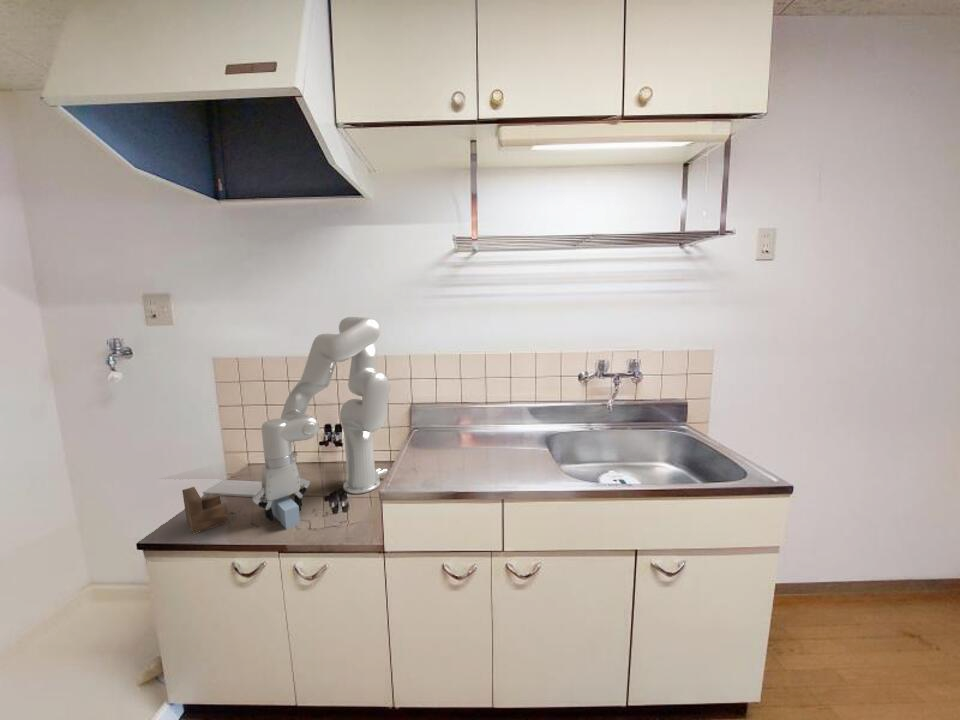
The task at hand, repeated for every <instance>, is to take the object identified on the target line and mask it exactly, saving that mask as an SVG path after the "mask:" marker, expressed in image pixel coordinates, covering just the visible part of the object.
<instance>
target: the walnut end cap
mask: <svg viewBox="0 0 960 720" xmlns="http://www.w3.org/2000/svg"><path fill="white" fill-rule="evenodd" d="M182 497H183V503H184V510H185V517H186V522H187V524H188V526H189V528H190V531H191V530H192V531H191V532H193V533H196V532H199V531H202V530H204V531H206V530H205V529H207V530H209V529H208V528H210V529H212V528H211V527H213V528H215V527H214V526H216V525H219V524H221V525H223V524H222V523H224V524H227V523H229V522H230V520H229V514H228V513H229V512H228V505H227V504H226V502H223V503H222V500H221V495H219V493H218V494H215V495H207V496H205V497H203V498H202V497H201V496H200V494H199V492H198V490H197V489H196V487H195V486H191V487H188V488H185V489H182ZM226 522H227V523H226ZM219 526H220V525H219ZM216 527H217V526H216ZM202 532H203V531H202ZM193 533H192V534H193ZM199 533H200V532H199ZM196 534H197V533H196Z"/></svg>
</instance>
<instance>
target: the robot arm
mask: <svg viewBox="0 0 960 720" xmlns="http://www.w3.org/2000/svg"><path fill="white" fill-rule="evenodd" d="M338 331H339V333H337V334H336V333H321V334H319V335H317V336H316V337H315V338H314V340H313V342H312V344H311V347H310V350H309V353H308V357H307V360H306V363H305V366H304V369H303V372H302V375H301V378H300V379H299V381H298V382H297V383H296V384H295V386H294V387H293V389H292V390H291V391H290V393H289V395H288V396H287V399H286V400H285V402H284V405H283V409H282V411H281V415H280V418H272V419H268V420H266V421H265V422H262V424H261V427H260V428H261V437H262V445H263V446H262V447H263V456H264V457H263V458H264V464H265V465H264V466H262V468H261V480H260V482H261V485H262V489H261V490H260V491H259V492H258V493H257V494H256V495H255V496H254V497H251V500H252V502H253V503H254V504H256V505H257V506H258V507H260V508H262V509H264V516H265V518H266V520H269V522H273V521H274V515H273V513H272V508H271V507H270V506H271V504H272V502H273V500H276V499H279V498H282V497H285V496H288V495H290V496H292V495H294V494H295V495H294V497H293V498H294V500H293V501H294V502H295V503H296V504H297V505H298V506H299V512H300V511H302V506H303V502H302V501H303V499H302V498H303V497H304V495H305V493H306V491H307V489H308V487H309V486H310V484H311V482H310V480H308V479H307V478H306V479H305V478H302V477H300V473H299V469H298V465H297V462H296V460H295V457H297V456H298V451H293V446H292V443H293V442H300V441H308V440H311V439H312V438H314V437H316V435H317V434H318V433H319V431H320V424H319V421H318V420H317V419H316V418H315V417H313V416H311V415H309V414H307V409H308V406H309V405H310V402H311V400H312V399H313V398H314V397H315V395H316V394H318V393H319V392H321V391H323V390H325V389H326V388H328V387H329V385H330V384H331V381H332V377H333V373H334V371H335V367H336V364H337V363H341V362H345V361H348V360H351V361H350V368H349V375H348V381H347V382H348V384H347V385H348V390H349V392H350V393H352V394H353V395H355V396H357V397H362V399H360V398H351V399H349V400H347V401H345V402H344V403H343V404H342V405H341V408H340V411H339V418H340V422H341V423H340V424H341V427H342V430H343V437H344V438H343V439H344V448H345V449H344V450H345V461H346V464H345V465H346V476H347V480H346V481H344V482H343V490H344V491H345V492H347V493H348V494H355V495H356V494H357V495H358V494H364V493H369V492H371V491H374V490H375V489H377V488H378V487H379V486H380V485H381V479H380V477H381V476H383V475H386V474H387V475H388V469H387V468H386V467H385V468H383V469H381V468H380V467H379V468H375V466H376V465H375V451H374V435H373V433H375V432H378V431H379V430H380V429H381V428H382V427H383V425H384V423H385V421H386V416H387V413H388V412H387V411H388V405H389V404H388V403H389V398H390V382H389V379H388V377H387V376H386V375H385V374H384V373H383V372H380V371H378V370H377V362H378V361H377V360H378V350H377V347H376V344H375V343H376V341H377V340H378V339H379V337H380V334H381V328H380V325H379V323H378V321H376V320H375V319H374V318H370V317H359V316H348V317H345V318H343V319H341V320H340V322H339V325H338ZM301 484H303V485H302V486H301ZM291 494H292V495H291ZM262 496H263V497H266V498H264V501H262V500H261V497H262Z"/></svg>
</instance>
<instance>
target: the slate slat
mask: <svg viewBox="0 0 960 720" xmlns="http://www.w3.org/2000/svg"><path fill="white" fill-rule="evenodd" d="M270 507H271V508H272V513H273V517H275V519H277V521H278V522H279V521H280V522H281V523H280V522H279V523H280V524H281V525H282V526H283V528H284V529H285V530H288V529H291V528H294V527H296V526H298V524H299V525H301V516H300V511H299V506H298V505H297V504H296V503H295V500H293V499H292V498H291V496H285V497H282V498H279V499H276V500H273V502H272V504H271V506H270ZM295 525H296V526H295ZM293 526H294V527H293Z"/></svg>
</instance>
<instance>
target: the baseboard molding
mask: <svg viewBox="0 0 960 720" xmlns="http://www.w3.org/2000/svg"><path fill="white" fill-rule="evenodd" d="M302 486H303V483H301V487H302ZM261 489H262V485H261V481H258V480H257V481H255V480H254V481H251V480H235V479H232V480H231V479H225V480H221V481H220V482H219V481H218V482H217V483H216V484H214V485H212V486H210V487H209V488H208V489H206V490H204V491H203V492H202V494H203V495H207V496H212V495H215V494H218V493H219V495H220V496H224V497H225V496H226V497H243V498H244V497H246V498H253V497H254V496H255V495H256V494H257V493H258V492H259V491H260V490H261ZM292 495H293V494H291V495H288V496H289V497H291V496H292ZM261 498H263V499H266V497H263V496H262V497H261ZM261 498H260V499H261Z"/></svg>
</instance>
